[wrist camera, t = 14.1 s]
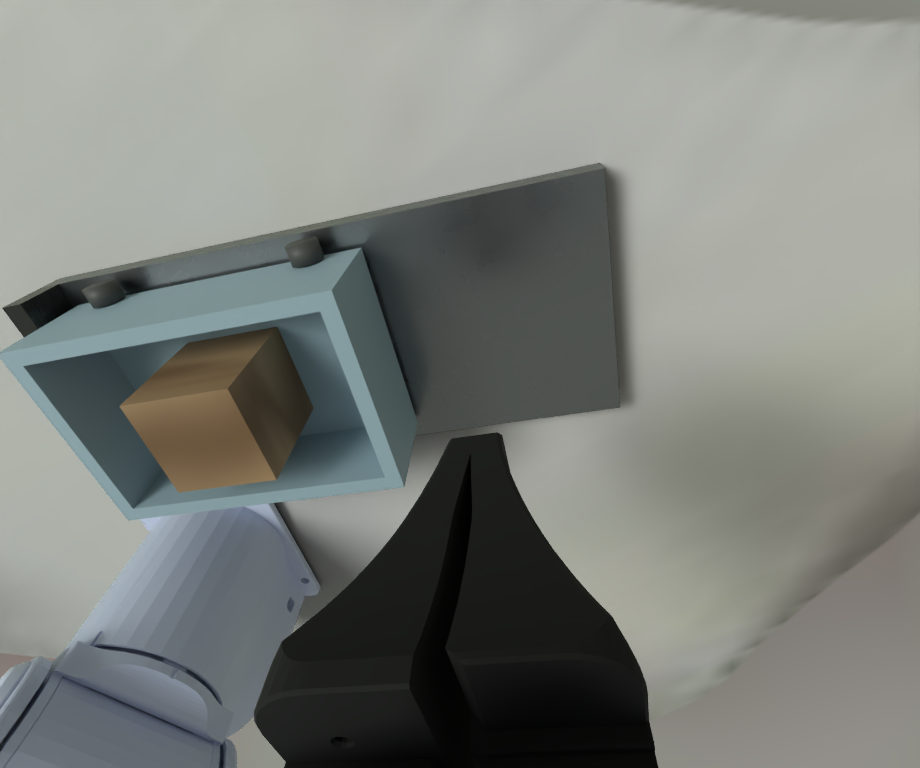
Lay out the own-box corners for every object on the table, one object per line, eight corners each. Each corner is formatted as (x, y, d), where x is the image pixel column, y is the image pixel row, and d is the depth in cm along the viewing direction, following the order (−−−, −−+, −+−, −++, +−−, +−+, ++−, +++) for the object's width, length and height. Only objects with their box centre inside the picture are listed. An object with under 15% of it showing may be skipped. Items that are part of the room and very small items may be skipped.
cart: (421, 435, 24) (409, 500, 20) (186, 468, 26) (137, 532, 22) (354, 227, 19) (322, 266, 15) (67, 287, 21) (-19, 334, 17)
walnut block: (313, 408, 22) (276, 480, 19) (230, 420, 23) (178, 492, 19) (277, 326, 20) (227, 388, 16) (187, 342, 21) (119, 406, 17)
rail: (615, 394, 23) (629, 435, 21) (176, 456, 27) (143, 498, 24) (599, 163, 18) (616, 180, 16) (59, 278, 22) (2, 308, 19)
